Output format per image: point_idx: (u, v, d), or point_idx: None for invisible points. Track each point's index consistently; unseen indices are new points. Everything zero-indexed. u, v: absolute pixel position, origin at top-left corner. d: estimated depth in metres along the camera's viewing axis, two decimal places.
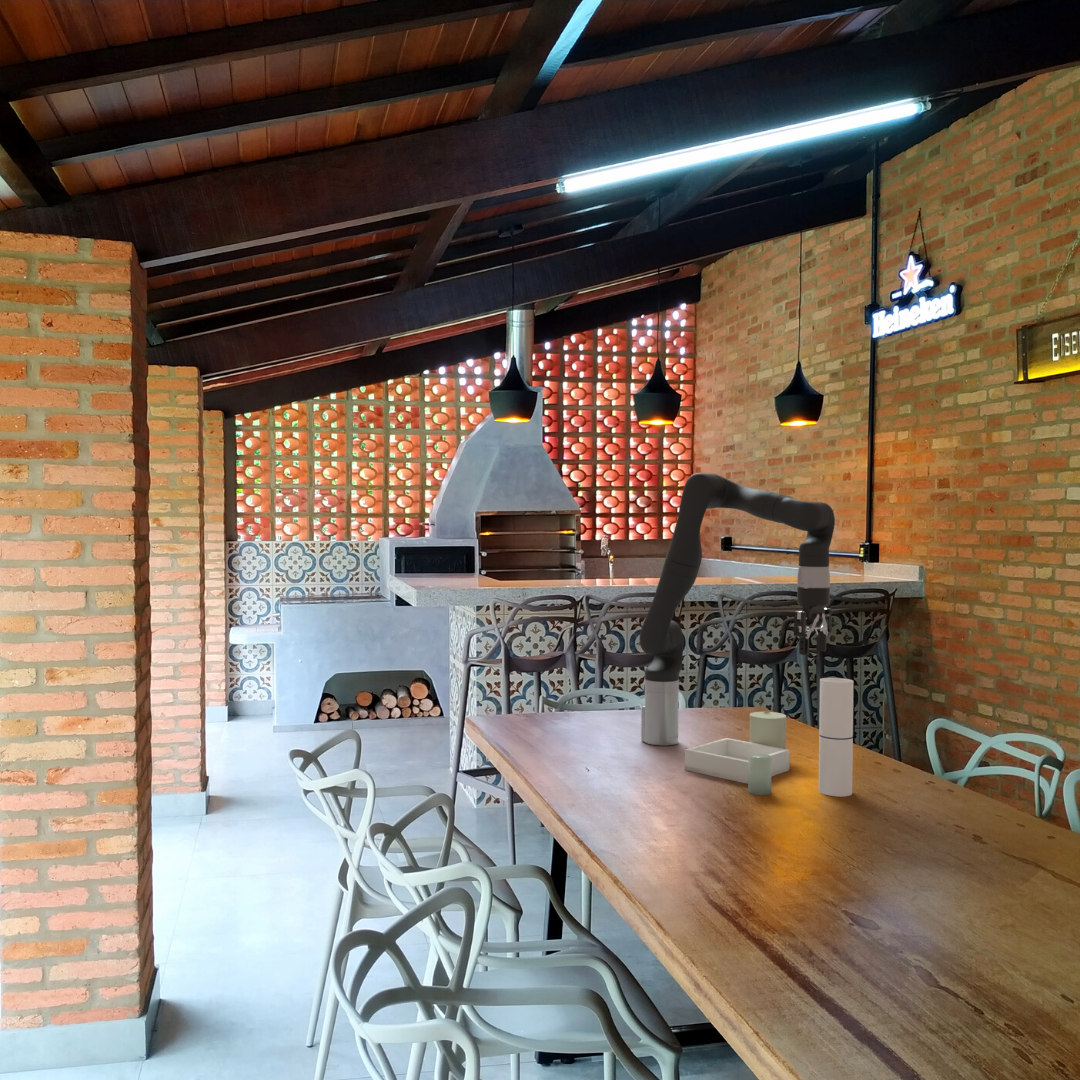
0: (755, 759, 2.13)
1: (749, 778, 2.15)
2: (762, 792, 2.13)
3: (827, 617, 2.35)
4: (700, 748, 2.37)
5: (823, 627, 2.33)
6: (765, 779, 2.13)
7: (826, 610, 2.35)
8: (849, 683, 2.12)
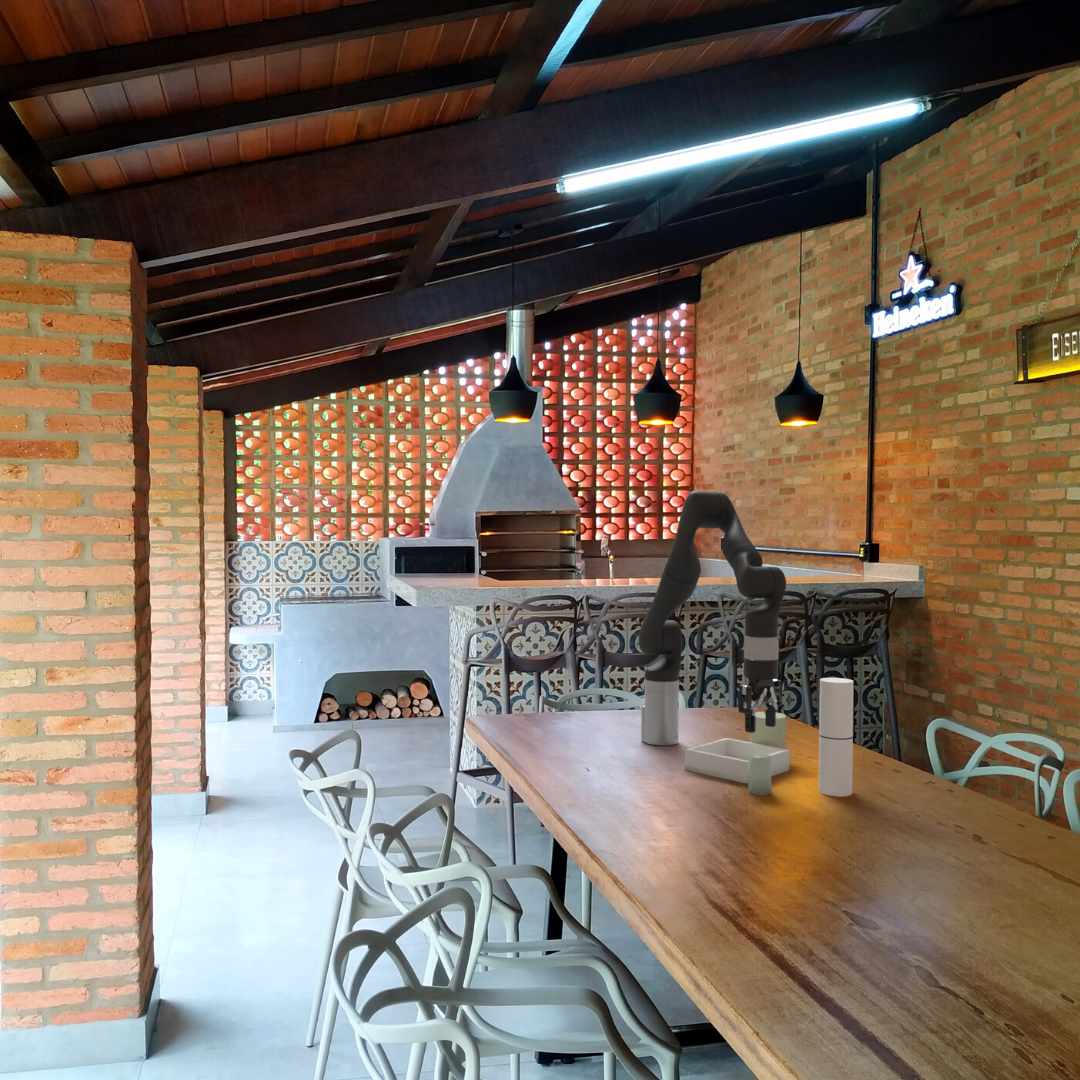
0: (755, 759, 2.13)
1: (749, 778, 2.15)
2: (762, 792, 2.13)
3: (777, 689, 2.19)
4: (700, 748, 2.37)
5: (772, 701, 2.16)
6: (765, 779, 2.13)
7: (776, 682, 2.19)
8: (849, 683, 2.12)
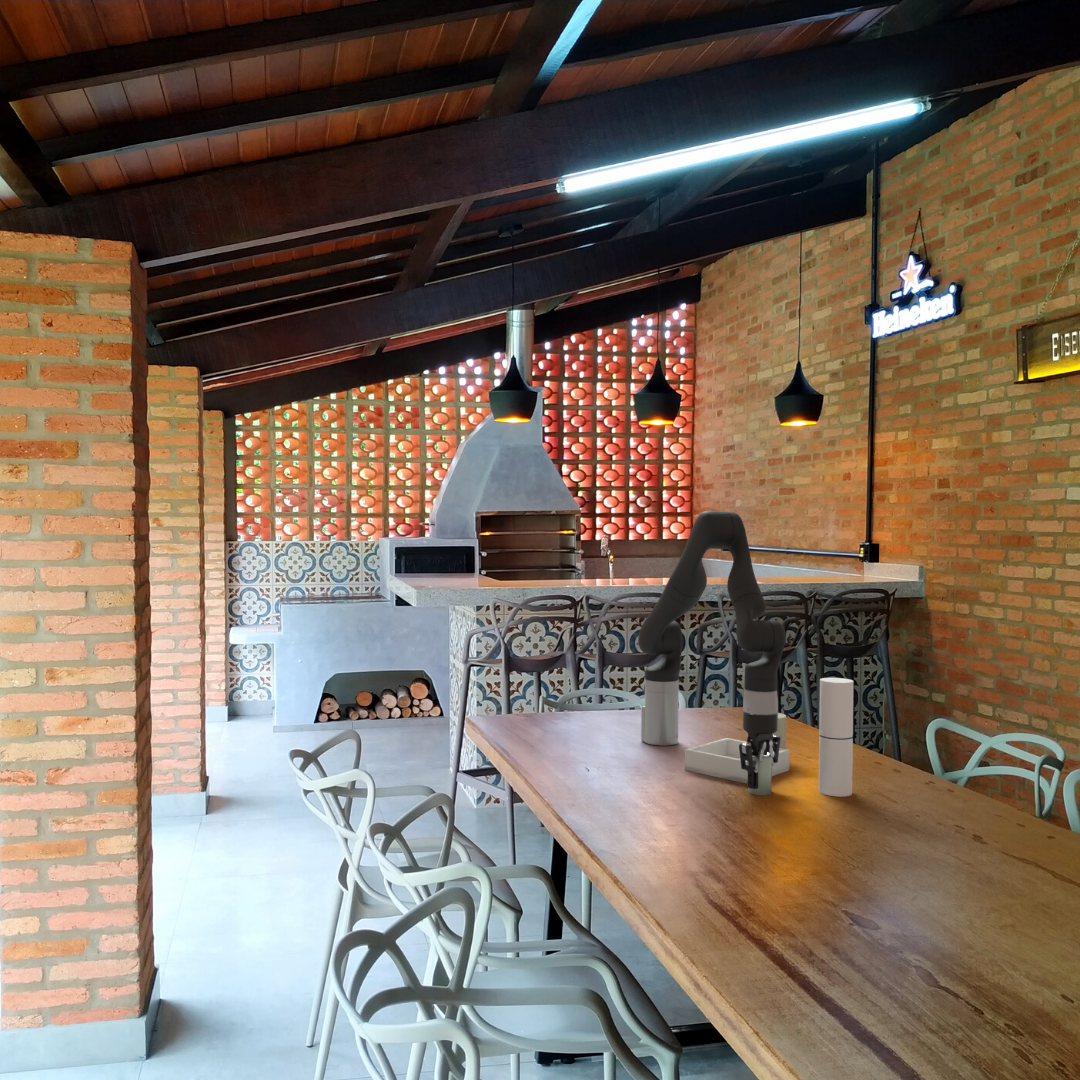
0: None
1: None
2: (762, 792, 2.13)
3: (775, 745, 2.18)
4: (700, 748, 2.37)
5: None
6: (765, 779, 2.13)
7: (775, 737, 2.19)
8: (849, 683, 2.12)
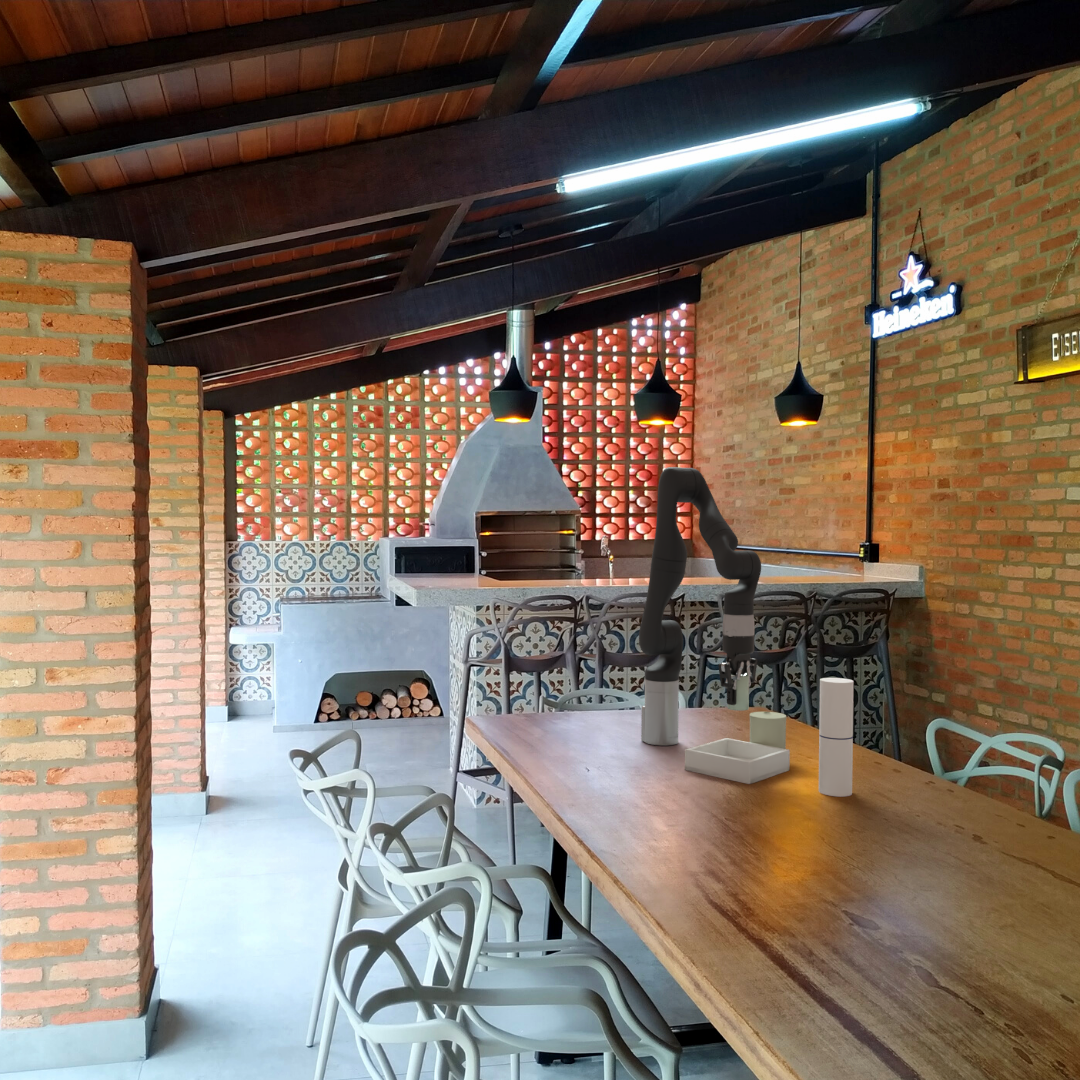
0: None
1: None
2: (740, 708, 2.32)
3: (752, 667, 2.37)
4: (700, 748, 2.37)
5: None
6: (743, 696, 2.32)
7: (752, 660, 2.38)
8: (849, 683, 2.12)
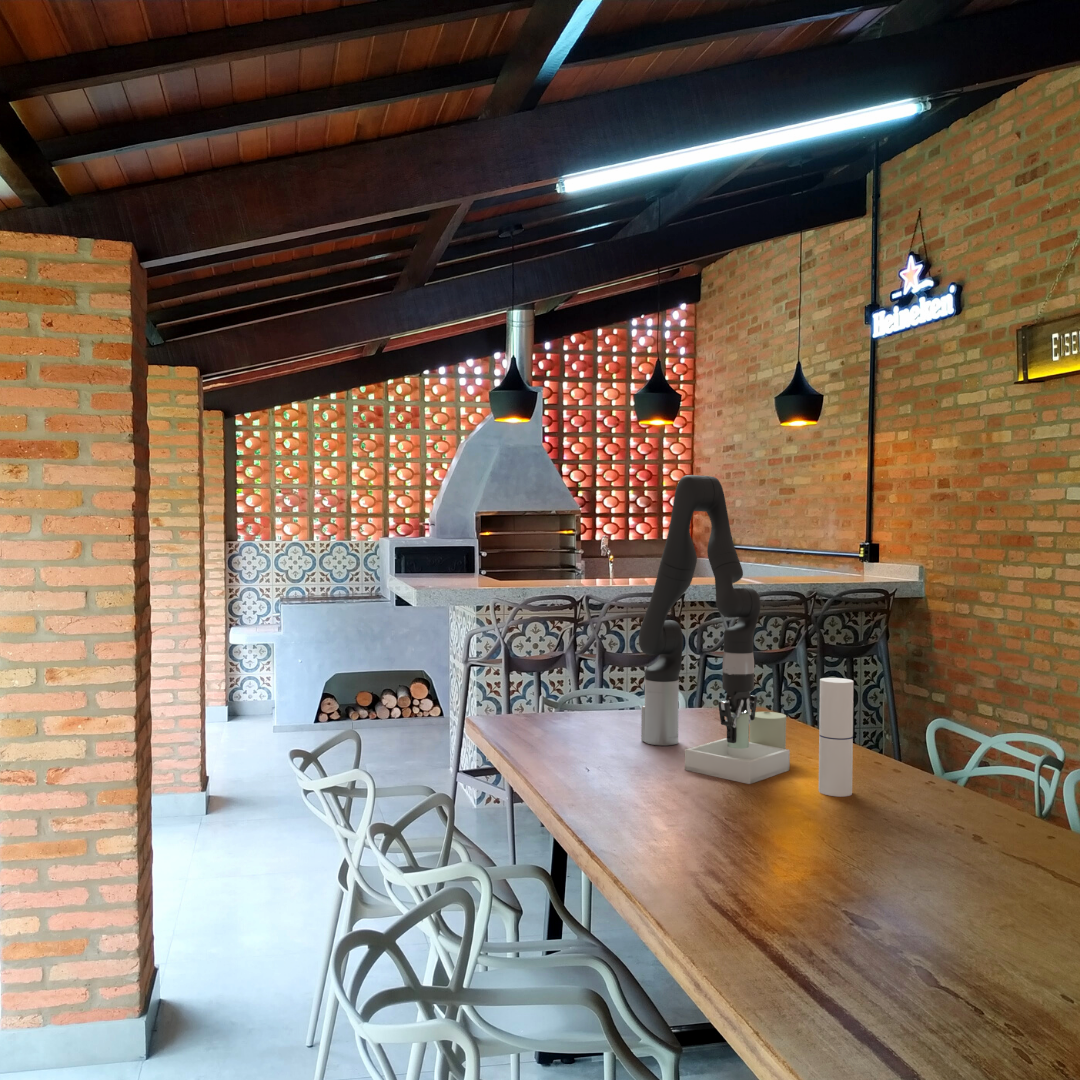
0: None
1: None
2: (740, 746, 2.32)
3: (752, 704, 2.37)
4: (700, 748, 2.37)
5: None
6: (743, 734, 2.32)
7: (752, 697, 2.38)
8: (849, 683, 2.12)
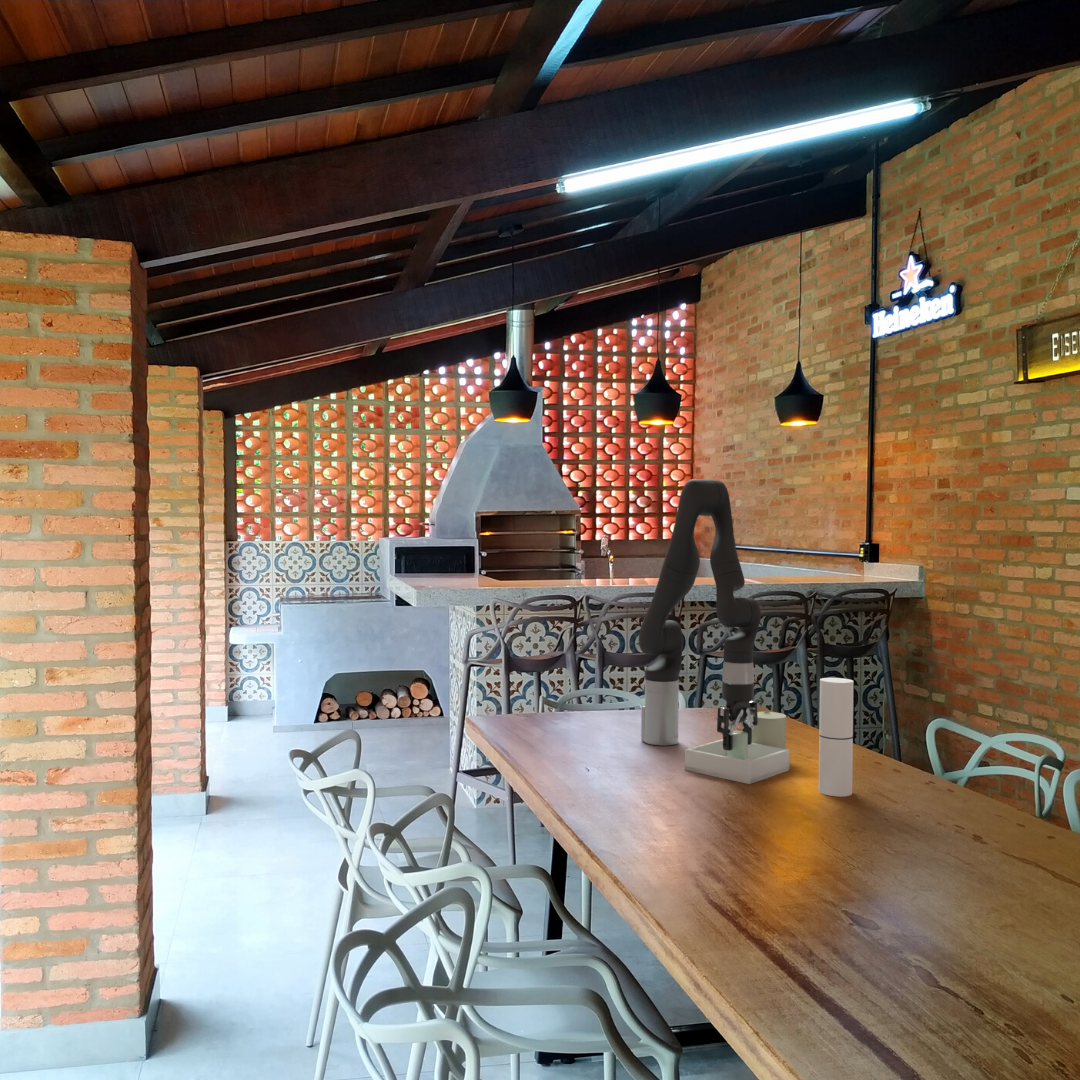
0: None
1: (727, 753, 2.34)
2: None
3: (753, 710, 2.38)
4: (700, 748, 2.37)
5: (748, 721, 2.35)
6: (742, 754, 2.32)
7: (752, 703, 2.38)
8: (849, 683, 2.12)
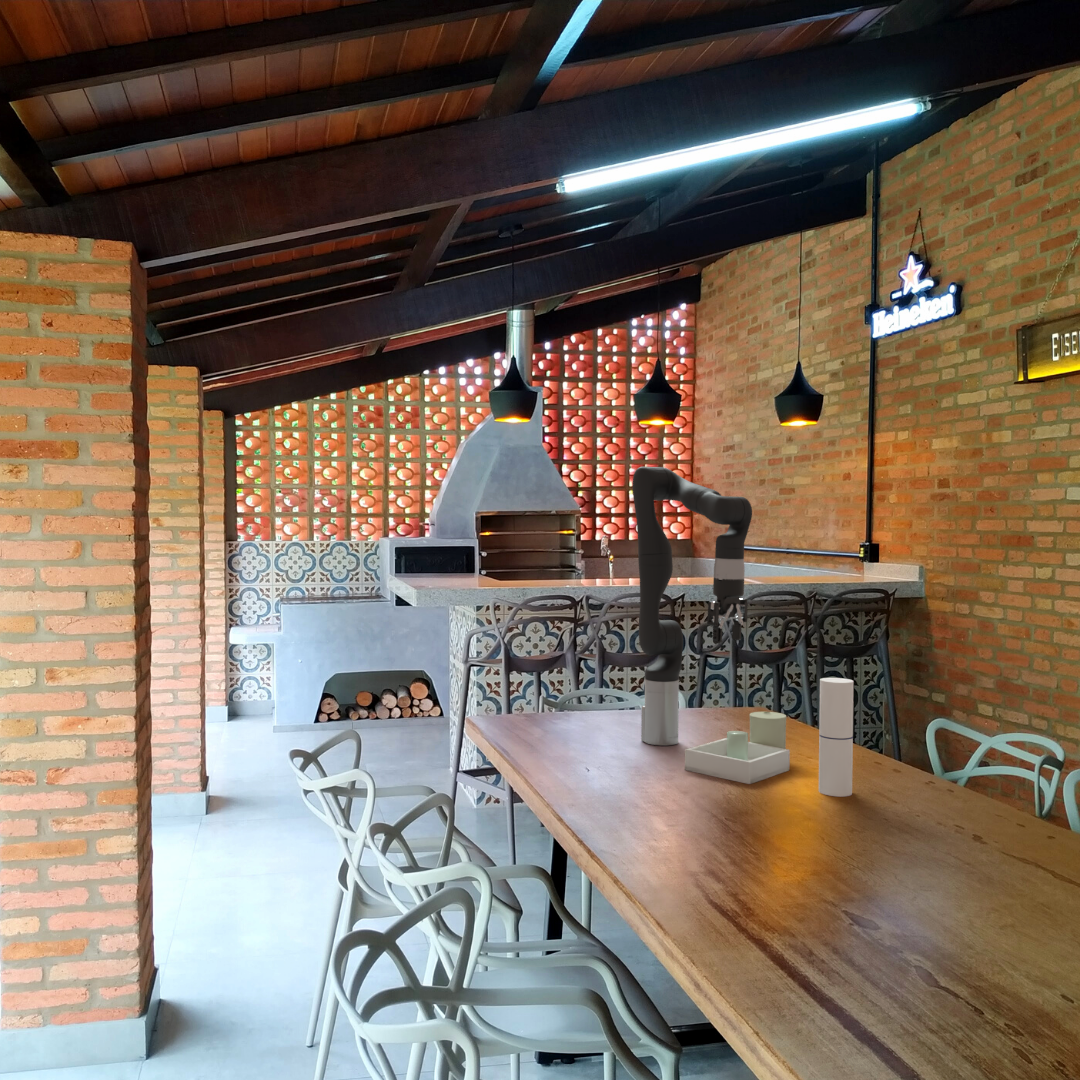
0: (733, 735, 2.32)
1: (727, 753, 2.34)
2: None
3: (743, 607, 2.44)
4: (700, 748, 2.37)
5: (738, 617, 2.42)
6: (742, 754, 2.32)
7: (742, 600, 2.44)
8: (849, 683, 2.12)
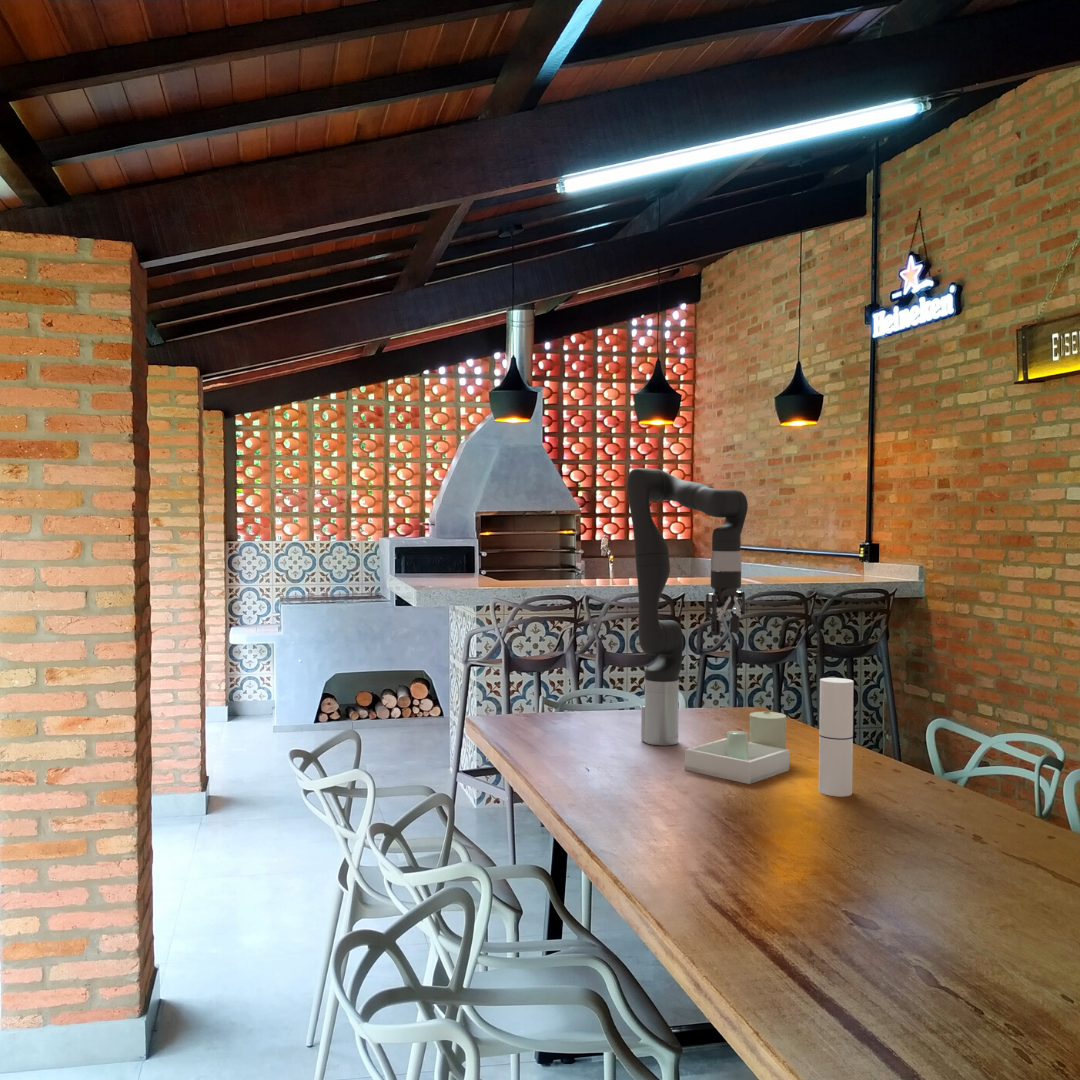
0: (733, 735, 2.32)
1: (727, 753, 2.34)
2: None
3: (740, 600, 2.46)
4: (700, 748, 2.37)
5: (736, 609, 2.43)
6: (742, 754, 2.32)
7: (739, 593, 2.46)
8: (849, 683, 2.12)
